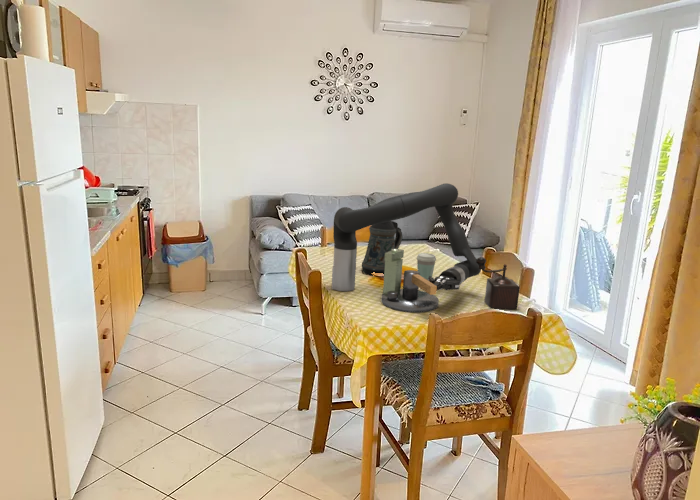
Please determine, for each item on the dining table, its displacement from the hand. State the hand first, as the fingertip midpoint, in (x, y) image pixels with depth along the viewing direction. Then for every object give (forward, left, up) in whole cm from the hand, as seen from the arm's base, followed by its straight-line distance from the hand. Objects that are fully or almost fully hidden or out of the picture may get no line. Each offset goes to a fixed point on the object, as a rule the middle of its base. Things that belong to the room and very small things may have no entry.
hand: (434, 288), depth 190 cm
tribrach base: (-8, +13, -11) cm, 19 cm away
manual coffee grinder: (+25, +19, -11) cm, 34 cm away
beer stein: (-21, +55, -11) cm, 60 cm away
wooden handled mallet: (-5, +7, -8) cm, 12 cm away
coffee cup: (-1, +44, -11) cm, 46 cm away
